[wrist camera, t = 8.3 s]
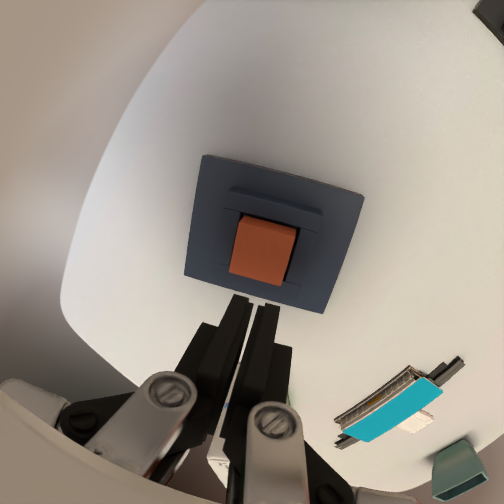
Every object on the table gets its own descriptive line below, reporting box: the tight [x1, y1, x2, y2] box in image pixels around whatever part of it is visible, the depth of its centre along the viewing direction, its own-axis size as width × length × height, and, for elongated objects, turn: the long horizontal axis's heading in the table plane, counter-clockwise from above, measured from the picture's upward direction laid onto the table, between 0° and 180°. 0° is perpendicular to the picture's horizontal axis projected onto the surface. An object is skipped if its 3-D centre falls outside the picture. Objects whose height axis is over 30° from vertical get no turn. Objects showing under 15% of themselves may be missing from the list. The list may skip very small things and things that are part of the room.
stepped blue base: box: [184, 155, 365, 314], centre depth 21 cm, size 12×10×3 cm
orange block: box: [229, 216, 296, 286], centre depth 19 cm, size 4×4×2 cm
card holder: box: [334, 357, 465, 450], centre depth 27 cm, size 20×12×2 cm, turn 145°
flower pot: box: [432, 439, 489, 502], centre depth 26 cm, size 9×9×9 cm
